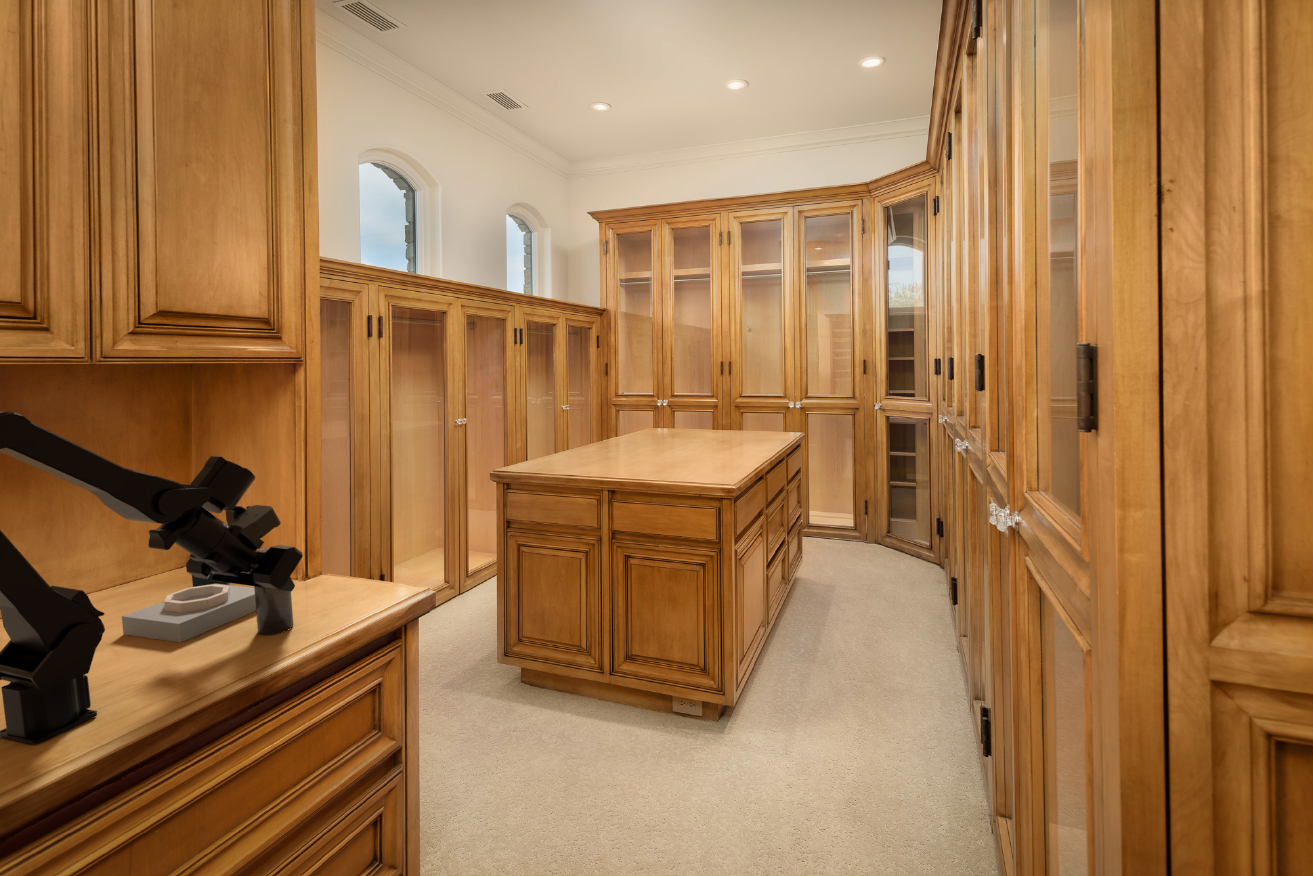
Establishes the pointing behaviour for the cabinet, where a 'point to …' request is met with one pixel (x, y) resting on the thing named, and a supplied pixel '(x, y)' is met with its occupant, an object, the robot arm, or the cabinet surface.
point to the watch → (205, 581)
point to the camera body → (190, 612)
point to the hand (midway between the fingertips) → (280, 586)
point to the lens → (273, 609)
